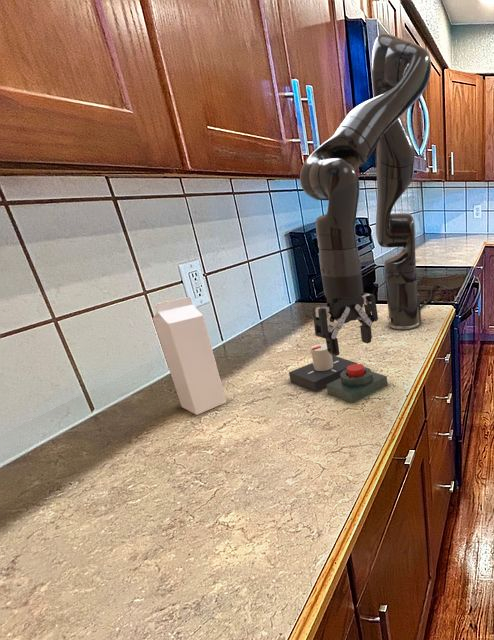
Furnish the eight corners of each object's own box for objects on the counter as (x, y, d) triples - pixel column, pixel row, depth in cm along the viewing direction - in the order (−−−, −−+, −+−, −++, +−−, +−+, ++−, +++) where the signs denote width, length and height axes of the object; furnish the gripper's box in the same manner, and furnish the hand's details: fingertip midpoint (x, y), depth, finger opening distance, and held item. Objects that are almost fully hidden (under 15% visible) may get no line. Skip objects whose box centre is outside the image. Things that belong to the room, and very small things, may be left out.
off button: (357, 369, 93) (356, 362, 92) (368, 373, 91) (367, 366, 91) (344, 375, 90) (343, 368, 90) (355, 379, 89) (354, 372, 88)
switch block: (362, 376, 98) (360, 360, 96) (387, 385, 94) (386, 369, 92) (327, 393, 90) (324, 376, 89) (353, 403, 86) (350, 386, 85)
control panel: (333, 364, 105) (332, 354, 103) (358, 372, 100) (357, 362, 99) (290, 382, 95) (288, 371, 94) (316, 392, 91) (314, 381, 90)
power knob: (326, 362, 99) (323, 341, 97) (337, 366, 97) (334, 345, 95) (310, 367, 96) (306, 346, 94) (321, 372, 94) (317, 350, 92)
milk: (227, 402, 87) (199, 298, 78) (196, 415, 82) (163, 306, 73) (211, 395, 90) (182, 294, 81) (180, 407, 85) (146, 301, 76)
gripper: (323, 280, 75) (335, 363, 81) (381, 267, 86) (388, 341, 92) (297, 275, 78) (311, 355, 85) (356, 263, 89) (364, 335, 96)
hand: (351, 348), depth 88 cm, fingers open, 8 cm apart
